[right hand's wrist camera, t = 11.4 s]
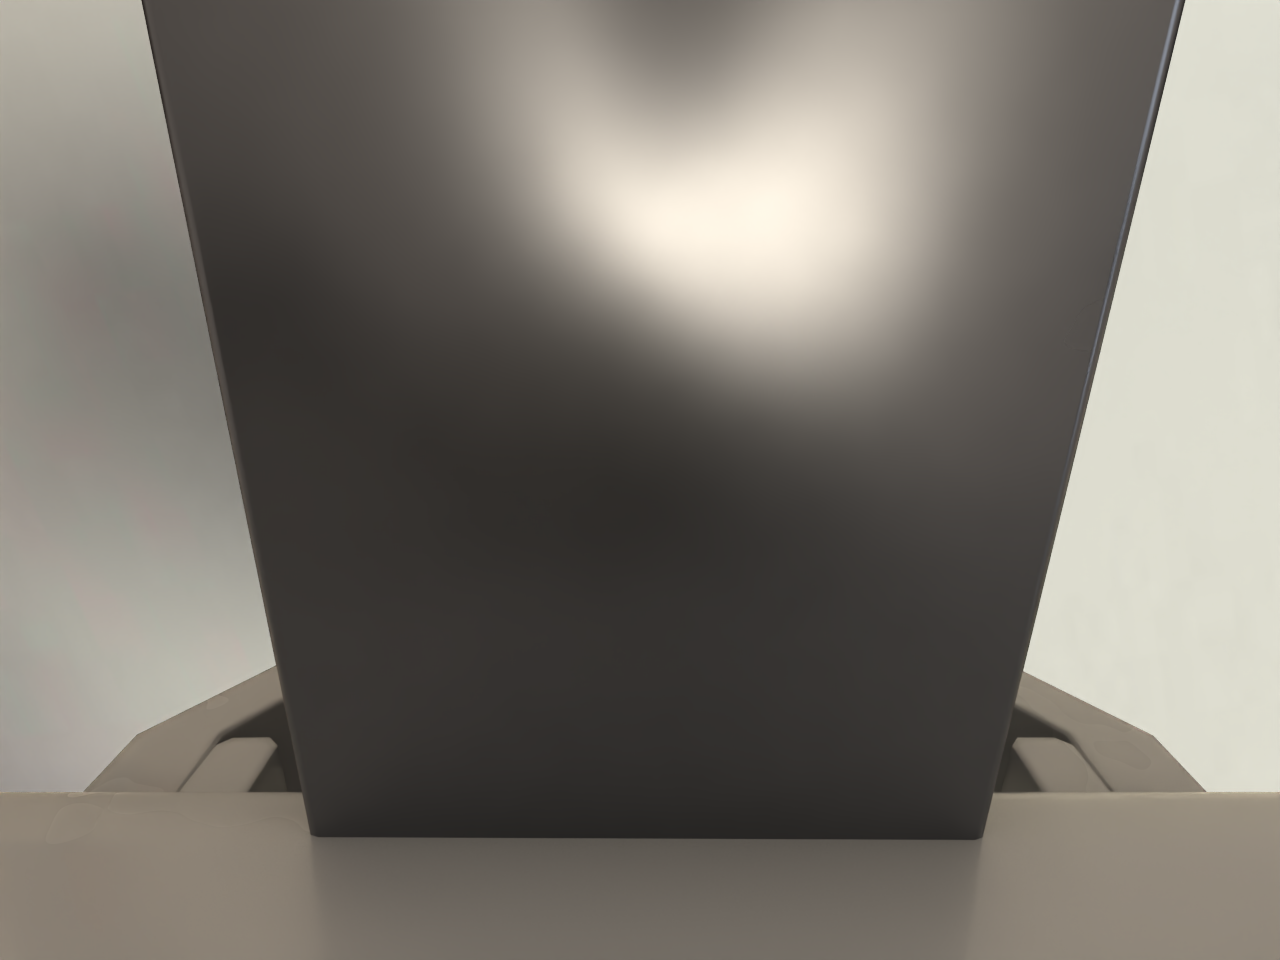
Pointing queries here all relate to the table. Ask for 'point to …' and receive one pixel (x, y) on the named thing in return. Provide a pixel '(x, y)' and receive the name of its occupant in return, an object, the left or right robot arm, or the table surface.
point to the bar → (655, 388)
